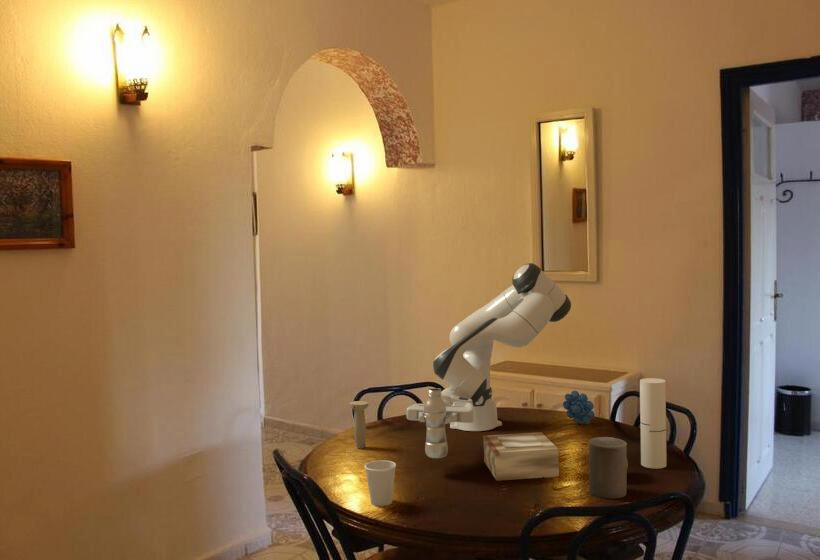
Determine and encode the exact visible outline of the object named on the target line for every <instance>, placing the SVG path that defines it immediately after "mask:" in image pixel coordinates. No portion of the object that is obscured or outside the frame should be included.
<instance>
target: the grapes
mask: <svg viewBox="0 0 820 560" xmlns="http://www.w3.org/2000/svg"><path fill="white" fill-rule="evenodd" d="M564 399H565V401H563V402H562V406H563V408H564V410H567V411H566V416H567V417H568V418H569V419H573V421H574V422H575V424H577V423H578V424H577V425H580V423H581V424H582V423H583V424H585V425H588V424H590V423H591V419H594V418H595V416H596V415H595V412H594V410H593V409H594V408H595V406H594V403H593V402H592V401H590V400H589V397H588V395H587V394H586V393H583V392H582V393H579V392H578V391H577V390H572V391H571V393H565V395H564Z"/></svg>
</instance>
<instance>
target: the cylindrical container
mask: <svg viewBox="0 0 820 560" xmlns="http://www.w3.org/2000/svg"><path fill="white" fill-rule="evenodd" d="M666 393H667V391H666V380H665V379H663V378H655V377H651V378H650V377H647V378H641V379H639V413H640V414H639V417H640V420H639V422H640V465H641V466H642V467H644V468H649V469H654V470H655V469H663V468H666V467H667V411H666V410H667V408H666V407H667V406H666V405H667V404H666V403H667V402H666V401H667V399H666Z"/></svg>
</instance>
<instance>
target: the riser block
mask: <svg viewBox="0 0 820 560" xmlns="http://www.w3.org/2000/svg"><path fill="white" fill-rule="evenodd" d="M482 438H483V439H482V440H483V462H484V464H485V466H486V467H487V468H488V469H489V472H490V473H491V474H492V476H493V477H494V479H495V481H511V480H525V479H542V478H543V477H544V478H556V477H557V478H558V476H559V477H560V469H559V468H560V467H559V464H560V463H559V459H560V458H559V448H558V447H557V446H556V445H555V444H554V443H553V442H552V441H551V440H550V439H549V438H548V437H547V436H546V435H544V433H543V432H542V431H541V432H524V433H508V434H507V433H506V434H493V435H491V434H490V435H482Z"/></svg>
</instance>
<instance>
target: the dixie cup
mask: <svg viewBox="0 0 820 560" xmlns="http://www.w3.org/2000/svg"><path fill="white" fill-rule="evenodd" d="M363 467H364V469H365V474H366V480H367V481H366V482H367V485H368V492H369V493H368V494H369V498H370V504H371V505H372V506H376V507H384V506H389V505H391V504H392V503H393V500H394V499H393V498H394V486H395V473H396V467H397V464H396V462H394V461H391V460H383V459H382V460H380V459H378V460H373V461H370V462H367V463H365V465H364V466H363Z"/></svg>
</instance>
